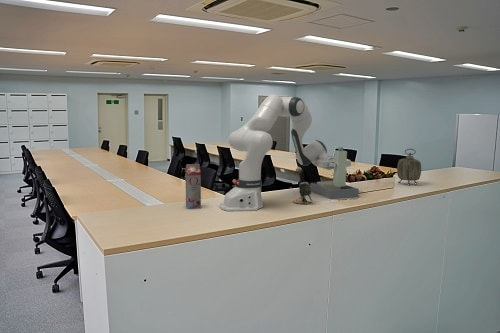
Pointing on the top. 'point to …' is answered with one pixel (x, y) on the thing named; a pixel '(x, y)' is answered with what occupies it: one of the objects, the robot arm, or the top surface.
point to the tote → (335, 192)
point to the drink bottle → (340, 167)
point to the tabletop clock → (409, 168)
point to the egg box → (328, 185)
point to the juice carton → (193, 186)
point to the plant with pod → (303, 190)
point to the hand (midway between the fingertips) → (340, 165)
